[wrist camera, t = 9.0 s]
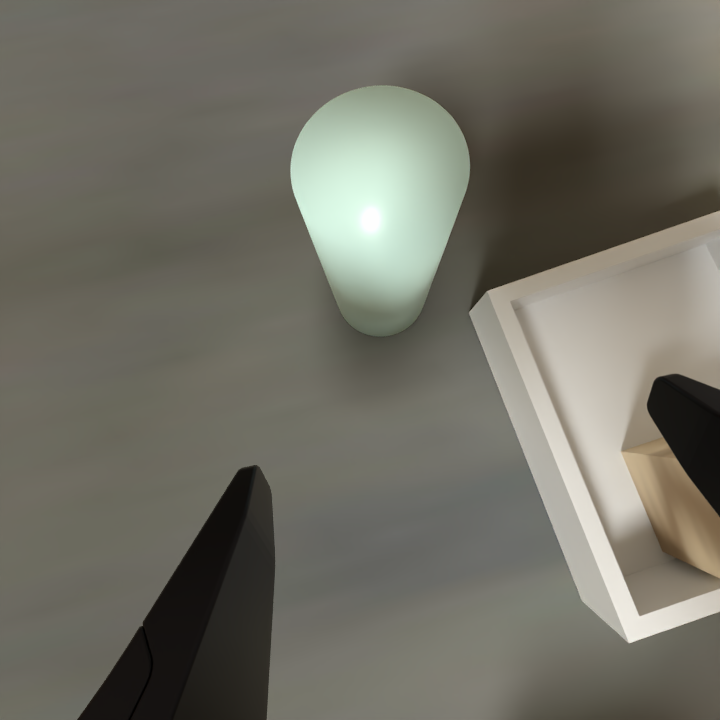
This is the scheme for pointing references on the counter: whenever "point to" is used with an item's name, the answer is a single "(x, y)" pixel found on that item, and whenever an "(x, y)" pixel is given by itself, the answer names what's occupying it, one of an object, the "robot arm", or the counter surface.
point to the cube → (675, 506)
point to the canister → (380, 199)
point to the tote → (609, 406)
